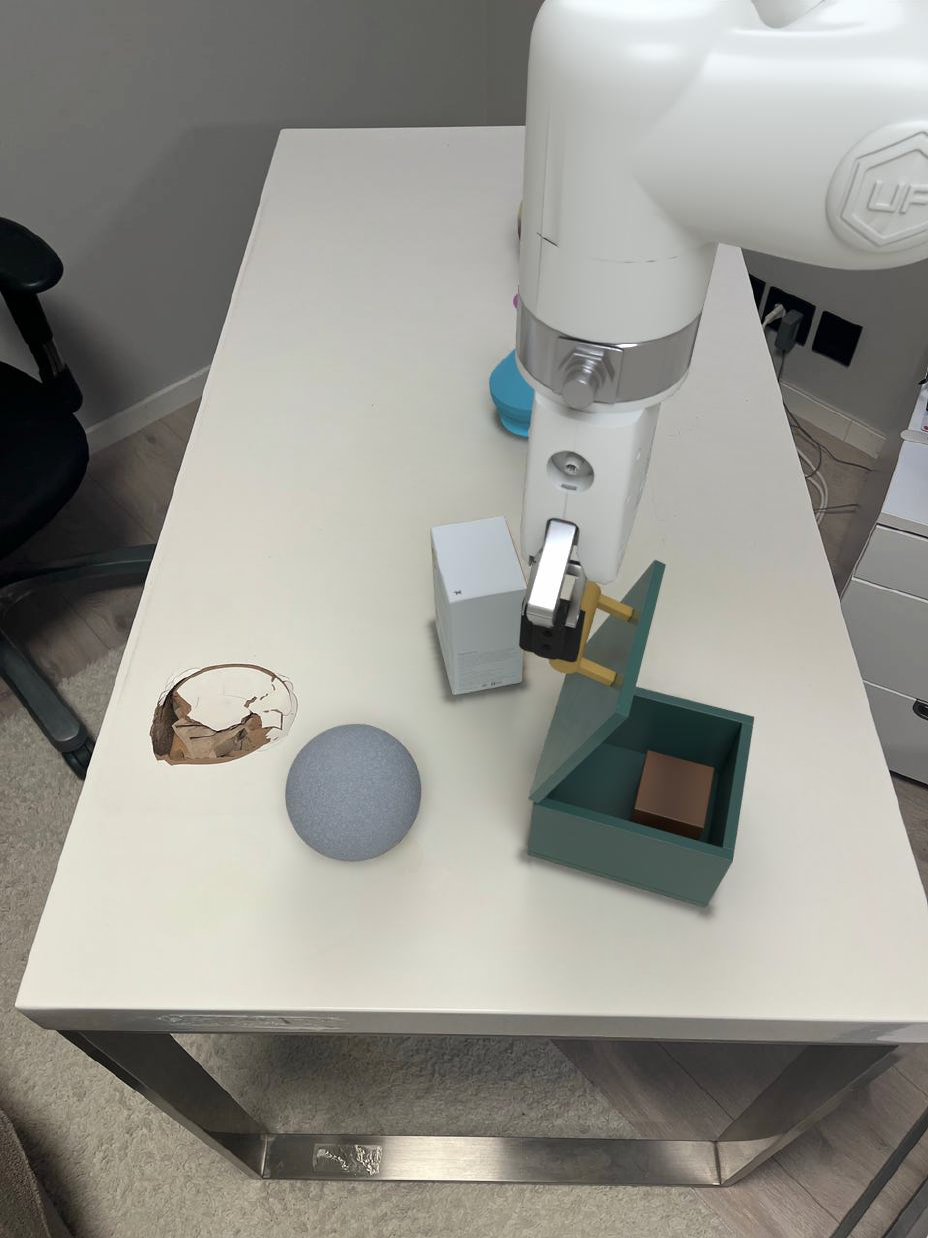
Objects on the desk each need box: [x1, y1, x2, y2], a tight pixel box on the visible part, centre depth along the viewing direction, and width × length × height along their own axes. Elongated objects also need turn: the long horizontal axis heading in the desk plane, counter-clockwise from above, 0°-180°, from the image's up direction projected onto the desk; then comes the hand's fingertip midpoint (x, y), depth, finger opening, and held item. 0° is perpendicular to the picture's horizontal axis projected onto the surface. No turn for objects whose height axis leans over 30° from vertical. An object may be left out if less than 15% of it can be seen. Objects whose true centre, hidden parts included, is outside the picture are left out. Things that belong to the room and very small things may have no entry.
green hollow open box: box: [527, 686, 755, 909], centre depth 67 cm, size 14×12×9 cm
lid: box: [528, 559, 667, 803], centre depth 59 cm, size 14×12×5 cm
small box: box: [430, 515, 528, 696], centre depth 75 cm, size 8×6×13 cm
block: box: [629, 750, 714, 841], centre depth 68 cm, size 5×5×5 cm
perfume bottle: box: [488, 292, 535, 438], centre depth 93 cm, size 9×9×15 cm
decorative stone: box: [284, 723, 422, 863], centre depth 67 cm, size 10×10×10 cm
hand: (570, 585), depth 51 cm, fingers open, 9 cm apart
